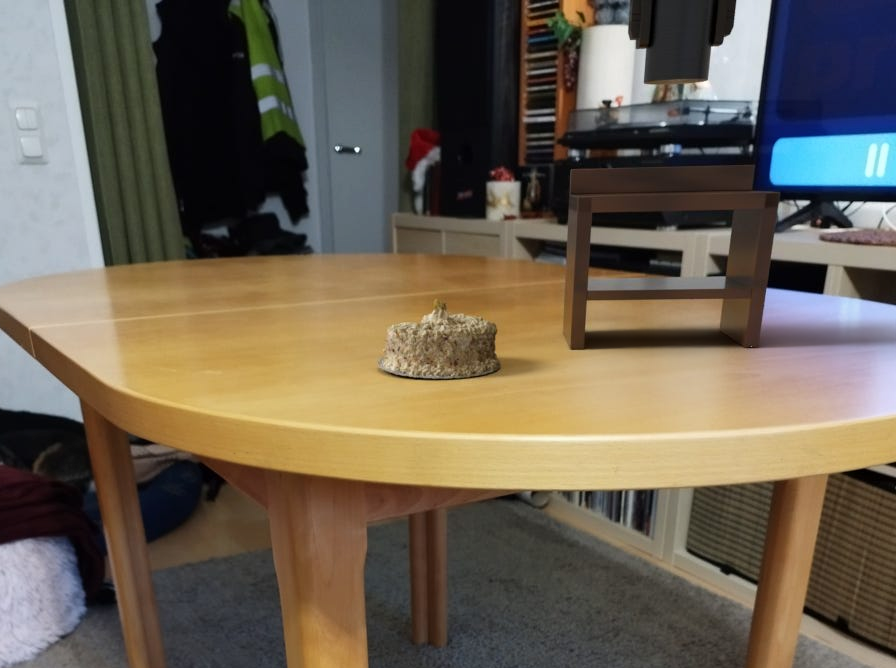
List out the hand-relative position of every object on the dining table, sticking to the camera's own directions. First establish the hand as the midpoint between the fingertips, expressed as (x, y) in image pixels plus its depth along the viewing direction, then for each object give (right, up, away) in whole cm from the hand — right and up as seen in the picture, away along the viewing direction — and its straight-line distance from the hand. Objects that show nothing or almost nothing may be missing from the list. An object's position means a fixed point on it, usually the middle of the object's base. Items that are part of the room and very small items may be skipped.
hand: (679, 45), depth 70 cm
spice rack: (+2, -18, +14) cm, 23 cm away
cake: (-18, -23, +4) cm, 30 cm away
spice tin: (0, -2, +1) cm, 2 cm away
